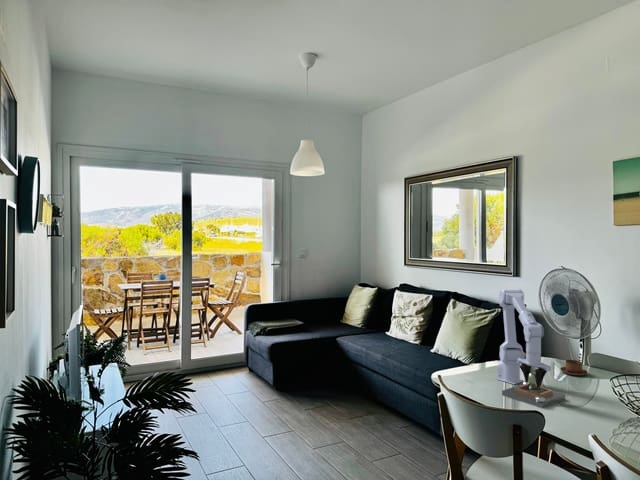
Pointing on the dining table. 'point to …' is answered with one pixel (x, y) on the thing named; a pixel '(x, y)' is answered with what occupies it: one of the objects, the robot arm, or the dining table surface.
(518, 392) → the grey square slab
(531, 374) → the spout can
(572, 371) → the cup and saucer
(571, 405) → the dining table surface
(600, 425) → the dining table surface
